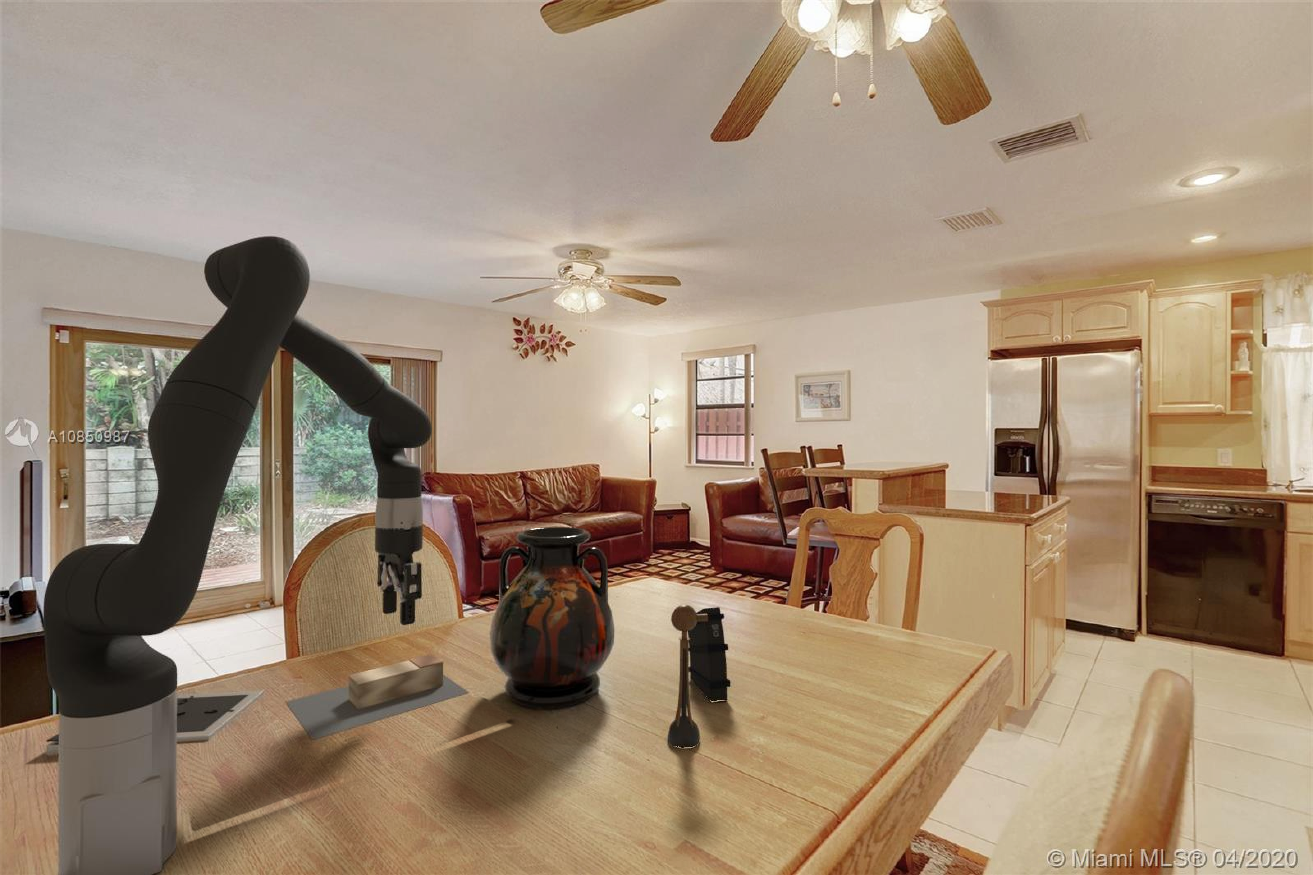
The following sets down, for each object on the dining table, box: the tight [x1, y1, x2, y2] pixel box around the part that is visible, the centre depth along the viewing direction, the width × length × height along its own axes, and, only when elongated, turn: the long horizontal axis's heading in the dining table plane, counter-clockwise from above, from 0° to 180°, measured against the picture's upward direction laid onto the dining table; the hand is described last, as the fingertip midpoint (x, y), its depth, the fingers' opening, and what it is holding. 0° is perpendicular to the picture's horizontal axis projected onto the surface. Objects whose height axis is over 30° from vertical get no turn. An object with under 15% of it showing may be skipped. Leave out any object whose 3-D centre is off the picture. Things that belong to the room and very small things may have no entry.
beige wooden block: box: [348, 653, 444, 709], centre depth 103 cm, size 14×5×4 cm, turn 133°
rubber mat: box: [285, 674, 470, 741], centre depth 101 cm, size 17×24×1 cm
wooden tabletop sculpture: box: [667, 604, 708, 748], centre depth 89 cm, size 6×5×20 cm
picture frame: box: [45, 689, 265, 756], centre depth 93 cm, size 16×3×21 cm
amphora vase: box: [489, 526, 615, 710], centre depth 106 cm, size 22×22×28 cm
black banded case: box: [687, 606, 731, 701], centre depth 107 cm, size 4×13×15 cm, turn 17°
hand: (398, 618), depth 103 cm, fingers open, 8 cm apart
